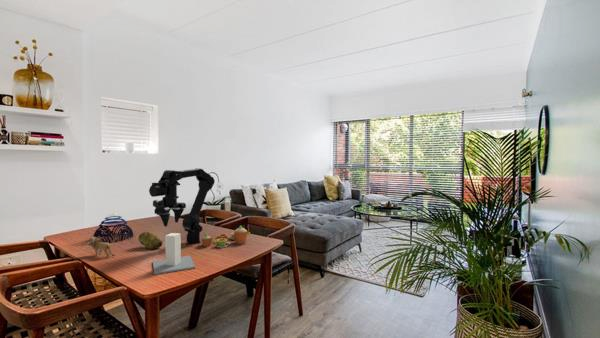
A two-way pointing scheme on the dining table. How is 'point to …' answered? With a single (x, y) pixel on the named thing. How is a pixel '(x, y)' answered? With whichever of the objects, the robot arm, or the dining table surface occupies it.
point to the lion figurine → (99, 246)
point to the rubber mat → (163, 268)
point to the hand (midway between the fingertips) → (171, 224)
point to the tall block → (173, 248)
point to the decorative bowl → (107, 232)
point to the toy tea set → (237, 235)
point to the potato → (150, 240)
